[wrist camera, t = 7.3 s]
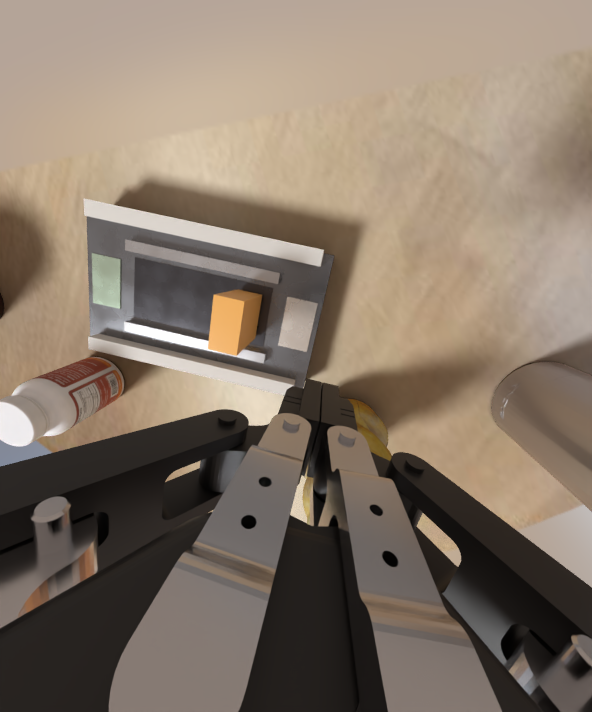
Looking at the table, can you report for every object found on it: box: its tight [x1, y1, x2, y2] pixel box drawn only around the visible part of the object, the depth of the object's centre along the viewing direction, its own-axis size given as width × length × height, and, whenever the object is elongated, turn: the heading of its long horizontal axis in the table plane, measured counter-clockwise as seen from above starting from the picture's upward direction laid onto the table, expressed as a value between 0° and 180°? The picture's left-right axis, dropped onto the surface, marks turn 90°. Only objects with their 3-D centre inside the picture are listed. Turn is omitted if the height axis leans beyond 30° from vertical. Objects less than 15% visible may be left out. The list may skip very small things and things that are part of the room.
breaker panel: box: [87, 216, 334, 388], centre depth 29 cm, size 24×14×4 cm, turn 78°
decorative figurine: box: [303, 399, 392, 525], centre depth 26 cm, size 10×8×15 cm
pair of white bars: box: [84, 199, 324, 396], centre depth 27 cm, size 22×14×1 cm, turn 78°
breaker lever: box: [208, 289, 262, 356], centre depth 24 cm, size 2×4×6 cm, turn 168°
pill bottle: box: [0, 357, 124, 446], centre depth 30 cm, size 6×6×11 cm
